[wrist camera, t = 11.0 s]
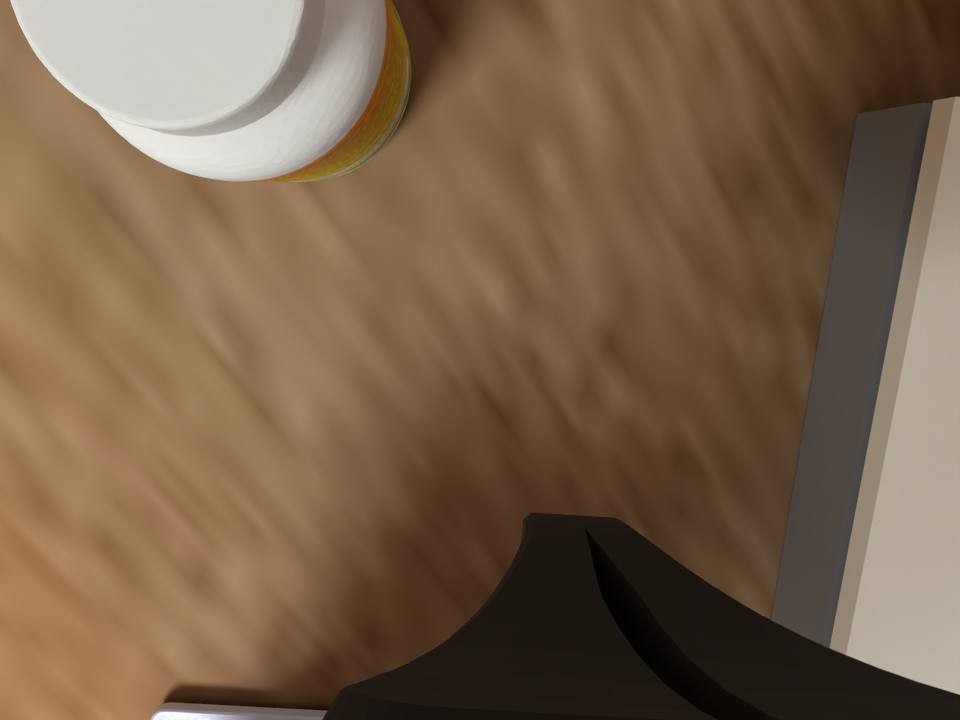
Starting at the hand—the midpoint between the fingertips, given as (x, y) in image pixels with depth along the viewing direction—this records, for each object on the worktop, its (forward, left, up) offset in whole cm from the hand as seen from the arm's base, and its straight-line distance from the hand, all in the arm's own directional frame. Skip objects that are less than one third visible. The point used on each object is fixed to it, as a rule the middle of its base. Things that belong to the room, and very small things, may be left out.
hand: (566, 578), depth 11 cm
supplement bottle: (+8, +6, -11) cm, 15 cm away
